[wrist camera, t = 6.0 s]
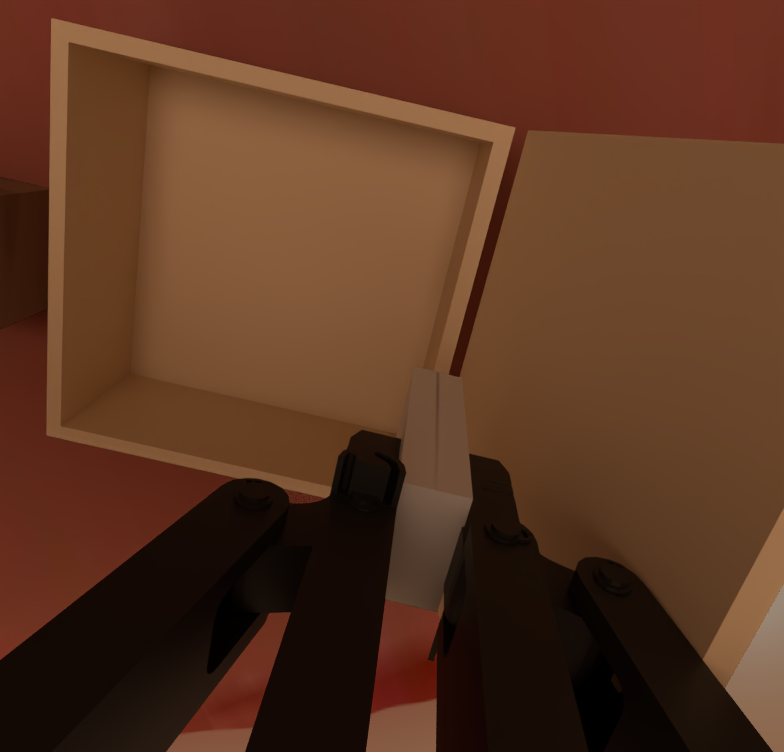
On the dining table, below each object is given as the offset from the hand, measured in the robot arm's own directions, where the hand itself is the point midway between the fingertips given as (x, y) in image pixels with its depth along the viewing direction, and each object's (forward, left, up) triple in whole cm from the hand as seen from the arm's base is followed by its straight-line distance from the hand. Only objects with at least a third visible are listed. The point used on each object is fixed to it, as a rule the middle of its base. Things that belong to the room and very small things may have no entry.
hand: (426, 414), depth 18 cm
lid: (+3, 0, +2) cm, 3 cm away
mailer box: (-7, 0, -13) cm, 15 cm away
